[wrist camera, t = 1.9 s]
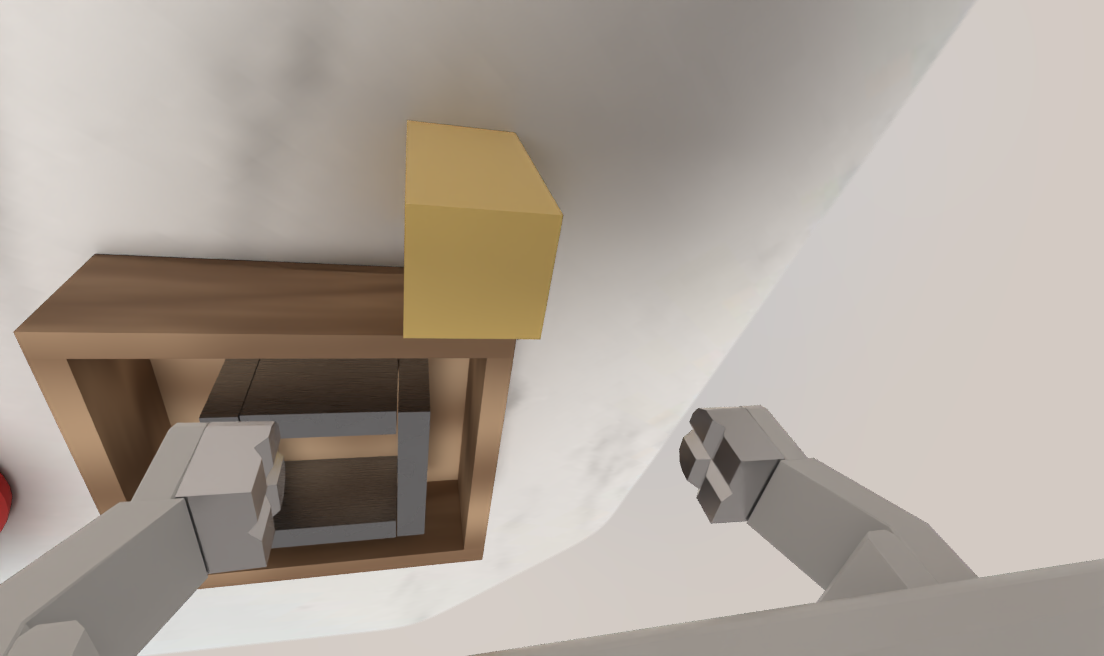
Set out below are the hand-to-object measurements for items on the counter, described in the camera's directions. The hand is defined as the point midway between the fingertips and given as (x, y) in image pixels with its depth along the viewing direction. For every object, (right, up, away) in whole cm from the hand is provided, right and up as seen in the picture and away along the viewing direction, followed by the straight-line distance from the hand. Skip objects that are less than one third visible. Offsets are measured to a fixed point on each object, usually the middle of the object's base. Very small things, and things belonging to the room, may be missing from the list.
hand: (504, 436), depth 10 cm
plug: (-3, +8, +10) cm, 13 cm away
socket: (-9, -2, +15) cm, 18 cm away
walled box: (-10, -1, +15) cm, 18 cm away
